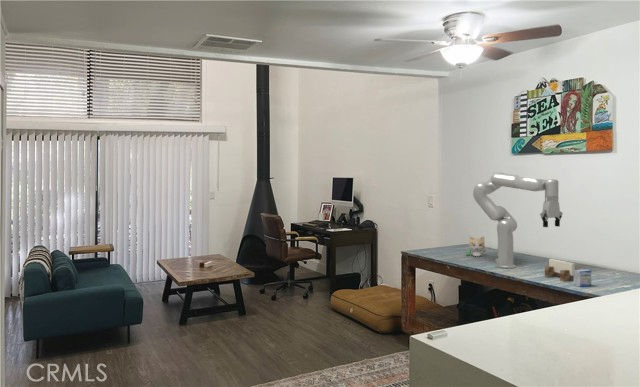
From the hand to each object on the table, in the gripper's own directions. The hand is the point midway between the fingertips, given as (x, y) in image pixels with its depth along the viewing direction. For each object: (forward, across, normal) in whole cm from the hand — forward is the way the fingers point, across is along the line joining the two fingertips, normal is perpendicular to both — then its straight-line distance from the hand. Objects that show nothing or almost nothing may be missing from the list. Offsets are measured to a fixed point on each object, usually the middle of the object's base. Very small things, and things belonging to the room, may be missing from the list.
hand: (551, 226), depth 293 cm
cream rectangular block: (+25, +9, +16) cm, 31 cm away
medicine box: (+29, +14, +34) cm, 47 cm away
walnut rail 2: (+28, +9, +22) cm, 37 cm away
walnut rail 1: (+28, +9, +10) cm, 31 cm away
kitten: (+28, +5, -64) cm, 70 cm away
